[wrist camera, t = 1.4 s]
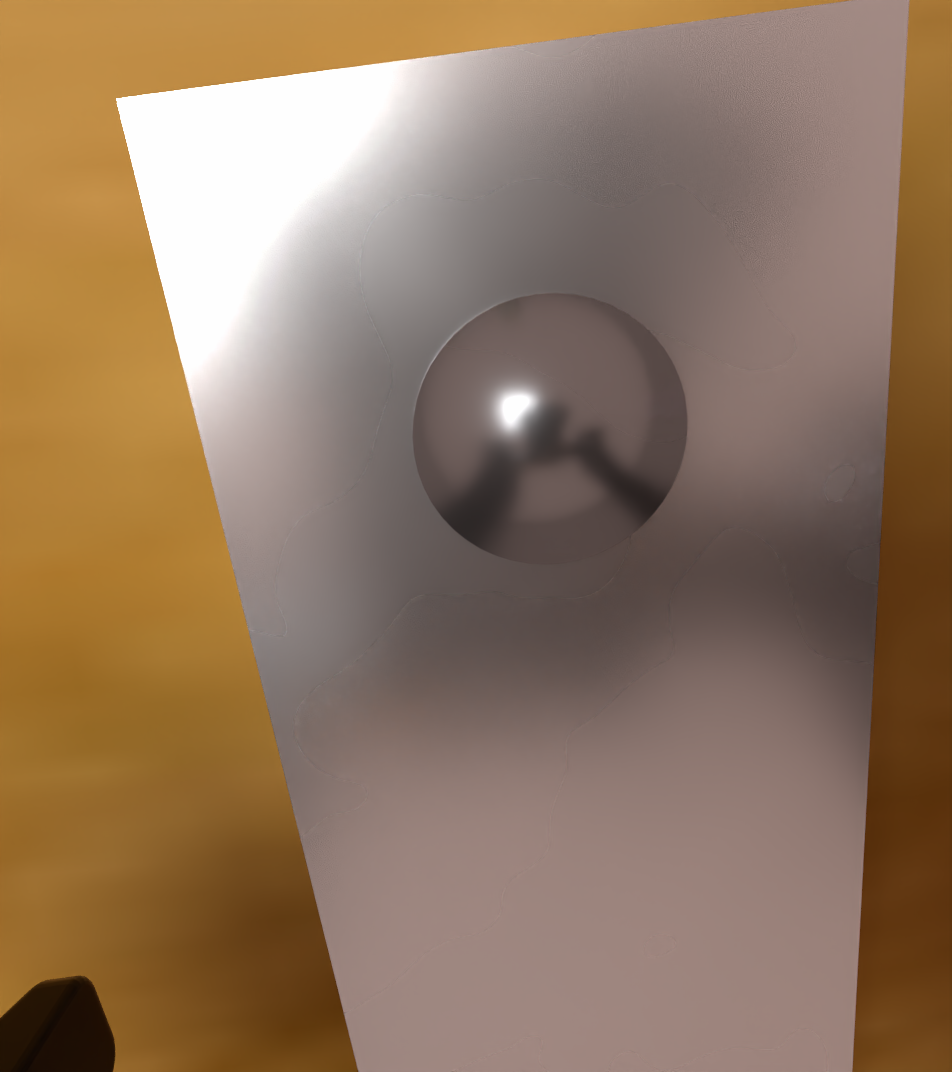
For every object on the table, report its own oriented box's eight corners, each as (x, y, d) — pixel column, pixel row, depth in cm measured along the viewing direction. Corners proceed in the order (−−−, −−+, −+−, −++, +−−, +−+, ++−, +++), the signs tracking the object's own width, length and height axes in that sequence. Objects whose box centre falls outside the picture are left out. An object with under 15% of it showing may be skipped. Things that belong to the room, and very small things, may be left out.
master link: (713, 1104, 13) (832, 1477, 9) (460, 1137, 13) (469, 1527, 9) (682, 108, 8) (915, -9, 4) (270, 164, 8) (111, 96, 4)
